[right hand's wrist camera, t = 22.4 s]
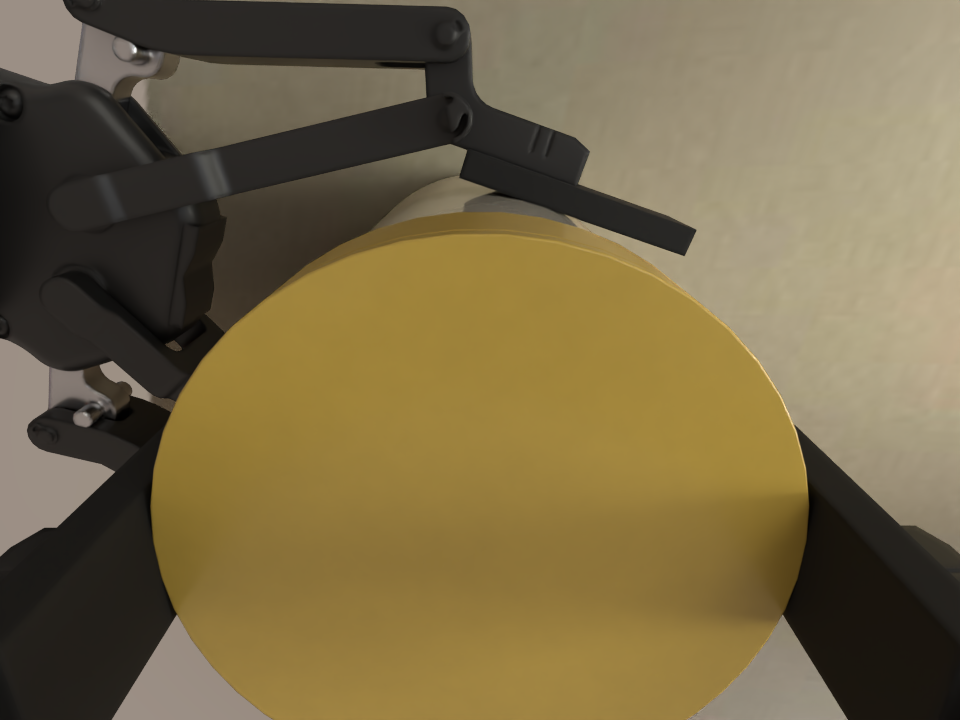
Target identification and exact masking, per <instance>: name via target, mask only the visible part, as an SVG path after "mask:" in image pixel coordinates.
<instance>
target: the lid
mask: <svg viewBox="0 0 960 720" xmlns="http://www.w3.org/2000/svg"><path fill="white" fill-rule="evenodd" d="M150 508H151V521H152V535H153V544H154V548H155V552H156V556H157V561H158V565H159V569H160V573H161V577H162V580H163V583H164V585H165V588H166V590H167V593H168V595H169V598H170V600H171V603H172V605H173V608H174V610H175V612H176V613H177V615H178V617H179V619H180V620H181V622H182V624H183V626H184V627H185V629H186V631H187V633H188V634H189V636H190V638H191V639H192V641H193V642H194V643H195V645H196V646H197V647H198V649H199V650H200V651H201V653H202V654H203V655H204V657H205V658H206V659H207V660H208V662H209V663H210V664H211V666H212V667H213V668H214V669H215V670H216V671H217V672H218V673H219V674H220V675H221V676H222V677H223V678H224V679H225V680H226V681H227V682H228V683H229V684H230V685H231V686H232V687H233V688H234V690H235V691H236V692H238V693H239V694H240V695H241V696H243V697H244V698H245V699H246V700H248V701H249V702H250V703H251V704H252V705H254V706H255V707H256V708H257V709H259V710H260V711H261V712H262V713H264V714H265V715H267V716H268V717H270V718H271V719H273V720H687V719H688V718H690V717H691V716H693V715H694V714H696V713H697V712H698V711H700V710H701V709H702V708H703V707H704V706H706V705H707V704H708V703H709V702H711V701H712V700H713V699H714V698H716V697H717V696H718V695H719V694H721V693H722V692H723V691H724V690H725V689H726V688H727V687H728V686H729V685H730V684H731V683H732V682H733V681H734V680H735V679H736V678H737V677H738V676H739V675H740V674H741V673H742V672H743V671H744V670H745V669H746V668H747V666H748V665H749V664H750V662H751V661H752V660H753V659H754V657H755V656H756V655H757V653H758V652H759V651H760V649H761V648H762V647H763V645H764V644H765V643H766V641H767V640H768V639H769V637H770V635H771V633H772V632H773V630H774V628H775V626H776V625H777V623H778V621H779V619H780V618H781V616H782V614H783V612H784V611H785V609H786V606H787V604H788V601H789V599H790V596H791V594H792V591H793V589H794V586H795V584H796V581H797V579H798V575H799V571H800V566H801V562H802V558H803V554H804V549H805V545H806V541H807V529H808V516H809V498H808V486H807V474H806V467H805V463H804V459H803V455H802V451H801V447H800V443H799V439H798V435H797V431H796V429H795V427H794V424H793V422H792V420H791V417H790V415H789V413H788V411H787V408H786V406H785V404H784V401H783V399H782V397H781V395H780V393H779V391H778V390H777V388H776V387H775V385H774V384H773V382H772V381H771V379H770V378H769V376H768V374H767V373H766V371H765V370H764V368H763V367H762V365H761V364H760V362H759V360H758V359H757V358H756V357H755V356H754V355H753V354H752V352H751V351H750V350H749V349H748V348H747V347H746V346H745V345H744V343H743V342H742V341H741V340H740V339H739V338H738V337H737V336H736V335H735V333H734V332H733V331H732V330H731V329H730V328H729V327H728V326H727V325H726V324H725V323H723V322H722V321H721V320H720V319H718V318H717V317H716V316H715V315H714V314H712V313H711V312H710V311H709V310H708V309H706V308H705V307H704V306H703V305H701V304H700V303H699V302H698V301H697V300H695V299H694V298H693V297H692V296H690V295H689V294H688V293H687V292H686V291H684V290H683V289H682V288H681V287H679V286H678V285H677V284H676V283H674V282H673V281H672V280H671V279H669V278H668V277H667V276H666V275H664V274H663V273H662V272H661V271H660V270H658V269H657V268H656V267H655V266H653V265H652V264H650V263H649V262H647V261H645V260H644V259H642V258H640V257H639V256H637V255H635V254H634V253H632V252H631V251H629V250H627V249H626V248H624V247H622V246H621V245H619V244H617V243H614V242H612V241H610V240H607V239H605V238H603V237H600V236H598V235H596V234H593V233H591V232H589V231H586V230H584V229H582V228H578V227H574V226H571V225H567V224H564V223H560V222H556V221H553V220H549V219H545V218H541V217H534V216H526V215H519V214H512V213H504V212H456V213H448V214H441V215H433V216H426V217H418V218H414V219H411V220H407V221H403V222H400V223H396V224H393V225H389V226H385V227H382V228H378V229H376V230H373V231H371V232H369V233H366V234H364V235H362V236H359V237H357V238H355V239H352V240H350V241H348V242H345V243H343V244H341V245H339V246H337V247H336V248H334V249H332V250H331V251H329V252H327V253H326V254H324V255H323V256H321V257H319V258H318V259H316V260H314V261H313V262H311V263H309V264H308V265H306V266H305V267H304V268H303V269H301V270H300V271H299V272H298V273H296V274H295V275H294V276H293V277H292V278H290V279H289V280H288V281H287V282H285V283H284V284H283V285H282V286H280V287H279V288H278V289H277V290H275V291H274V292H273V293H272V294H271V295H269V296H268V297H267V298H266V299H264V300H263V301H262V302H261V303H260V304H258V305H257V306H256V307H255V308H253V309H252V310H251V311H250V312H249V313H247V314H246V315H245V316H244V317H243V318H241V319H240V320H239V321H238V322H236V323H235V324H234V325H233V326H232V327H231V328H230V329H229V330H228V331H227V332H226V333H225V334H224V335H223V336H222V338H221V339H220V340H219V341H218V342H217V343H216V344H215V345H214V347H213V348H212V349H211V350H210V351H209V352H208V353H207V354H206V355H205V357H204V358H203V359H202V360H201V362H200V363H199V365H198V366H197V368H196V369H195V371H194V372H193V374H192V376H191V377H190V379H189V380H188V382H187V383H186V385H185V386H184V388H183V389H182V391H181V393H180V394H179V396H178V398H177V401H176V403H175V405H174V408H173V410H172V412H171V414H170V417H169V419H168V421H167V424H166V426H165V428H164V430H163V434H162V438H161V442H160V445H159V449H158V453H157V457H156V461H155V465H154V470H153V482H152V493H151V505H150Z"/></svg>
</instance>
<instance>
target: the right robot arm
mask: <svg viewBox="0 0 960 720" xmlns="http://www.w3.org/2000/svg"><path fill="white" fill-rule="evenodd" d="M166 424H167V423H166ZM166 424H165V425H164V426H163V427H162V428H161V429H160V430H159V431H158V432H157V433H156V434H155V435H154V436H153V437H152V438H151V439H150V440H149V441H148V442H146V443H145V444H144V445H143V446H142V447H141V448H140V449H139V450H138V451H137V452H136V453H135V454H134V455H133V456H132V457H131V458H130V459H129V460H128V461H127V462H125V463H124V464H123V465H122V466H121V467H120V468H119V469H118V470H117V471H116V472H115V473H114V474H113V475H112V476H111V477H110V478H109V479H108V480H107V481H106V482H104V483H103V484H102V485H101V486H100V487H99V488H98V489H97V490H96V491H95V492H94V493H93V494H92V495H91V496H90V497H89V498H88V499H87V500H86V501H85V502H83V503H82V504H81V505H80V506H79V507H78V508H77V509H76V510H75V511H74V512H73V513H72V514H71V515H70V516H69V517H68V518H67V519H66V520H65V521H63V522H62V523H61V524H60V525H59V526H58V527H57V528H43V529H42V530H40V531H38V532H37V533H35V534H33V535H31V536H30V537H28V538H26V539H24V540H23V541H21V542H19V543H18V544H16V545H14V546H12V547H11V548H9V549H8V550H7V551H6V552H5V553H4V554H3V555H2V556H1V557H0V720H112V718H113V717H114V715H115V713H116V712H117V710H118V708H119V707H120V705H121V704H122V702H123V700H124V699H125V697H126V696H127V694H128V692H129V691H130V689H131V687H132V686H133V684H134V683H135V681H136V679H137V678H138V676H139V675H140V673H141V671H142V670H143V668H144V666H145V665H146V663H147V662H148V660H149V658H150V657H151V655H152V654H153V652H154V650H155V649H156V647H157V646H158V644H159V642H160V641H161V639H162V637H163V636H164V634H165V633H166V631H167V629H168V628H169V626H170V625H171V623H172V621H173V620H174V618H175V616H176V615H177V613H176V612H175V610H174V608H173V605H172V603H171V600H170V598H169V595H168V593H167V590H166V588H165V585H164V583H163V580H162V577H161V573H160V569H159V565H158V561H157V556H156V552H155V548H154V544H153V535H152V521H151V508H150V505H151V493H152V482H153V470H154V465H155V461H156V457H157V453H158V449H159V445H160V442H161V438H162V434H163V430H164V428H165V426H166ZM794 427H795V429H796V431H797V435H798V439H799V443H800V447H801V451H802V455H803V459H804V463H805V467H806V474H807V486H808V498H809V516H808V529H807V541H806V545H805V549H804V554H803V558H802V562H801V566H800V571H799V575H798V579H797V581H796V584H795V586H794V589H793V591H792V594H791V596H790V599H789V601H788V604H787V606H786V609H785V611H784V612H783V615H784V617H785V619H786V620H787V622H788V624H789V625H790V627H791V628H792V630H793V632H794V633H795V635H796V636H797V638H798V640H799V641H800V643H801V645H802V646H803V648H804V649H805V651H806V653H807V654H808V656H809V657H810V659H811V661H812V662H813V664H814V666H815V667H816V669H817V670H818V672H819V674H820V675H821V677H822V678H823V680H824V682H825V683H826V685H827V687H828V688H829V690H830V691H831V693H832V695H833V696H834V698H835V699H836V701H837V703H838V704H839V706H840V708H841V709H842V711H843V712H844V714H845V716H846V717H847V719H848V720H960V554H959V553H958V552H957V551H955V550H954V549H953V548H952V547H951V546H950V545H948V544H946V543H945V542H943V541H941V540H940V539H938V538H936V537H934V536H933V535H931V534H929V533H927V532H926V531H924V530H922V529H920V528H919V527H917V526H900V525H899V524H898V523H897V522H896V521H895V520H894V519H893V518H892V517H891V516H890V515H889V514H888V513H887V512H886V511H885V510H883V509H882V508H881V507H880V506H879V505H878V504H877V503H876V502H875V501H874V500H873V499H872V498H871V497H870V496H869V495H868V494H867V493H866V492H865V491H864V490H862V489H861V488H860V487H859V486H858V485H857V484H856V483H855V482H854V481H853V480H852V479H851V478H850V477H849V476H848V475H847V474H846V473H845V472H844V471H842V470H841V469H840V468H839V467H838V466H837V465H836V464H835V463H834V462H833V461H832V460H831V459H830V458H829V457H828V456H827V455H826V454H825V453H824V452H823V451H821V450H820V449H819V448H818V447H817V446H816V445H815V444H814V443H813V442H812V441H811V440H810V439H809V438H808V437H807V436H806V435H805V434H804V433H803V432H802V431H800V430H799V429H798V428H797V427H796V426H795V425H794Z"/></svg>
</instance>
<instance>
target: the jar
mask: <svg viewBox="0 0 960 720" xmlns="http://www.w3.org/2000/svg"><path fill="white" fill-rule="evenodd" d="M459 176H460V175H457V176H453V177H449V178H445V179H441V180H438V181H436V182H433V183H431V184H429V185H426V186H424V187H422V188H421V189H419V190H417V191H415V192H414V193H412V194H410V195H409V196H408V197H406V198H405V199H404V200H402V201H401V202H400V203H399V204H397V205H396V206H395V207H394V208H393V209H392V210H391V211H390V212H389V213H388V214H387V215H386V216H385V217H384V218H383V219H382V220H381V221H380V222H378V223H377V224H376V225H375V226H374V227H373V228H372V229H371V230H370V231H369V232H371V231H373V230H376V229H378V228H382V227H385V226H389V225H393V224H396V223H400V222H403V221H407V220H411V219H414V218H418V217H426V216H433V215H441V214H448V213H456V212H504V213H512V214H519V215H526V216H534V217H541V218H545V219H549V220H553V221H556V222H560V223H564V224H567V225H571V226H574V227H578V228H582V229H584V230H586V231H589V232H591V231H590V230H589V229H588V228H587V227H586V226H585V225H583V224H582V223H581V222H580V221H579V220H578V219H576V218H573V217H570V216H567V215H564V214H562V213H559V212H556V211H553V210H550V209H547V208H545V207H542V206H538V205H536V204H533V203H530V202H527V201H524V200H521V199H518V198H515V197H512V196H510V195H507V194H504V193H501V192H498V191H495V190H492V189H489V188H486V187H484V186H481V185H478V184H475V183H472V182H469V181H466V180H463V179H460V178H459ZM369 232H368V233H369ZM591 233H592V232H591Z"/></svg>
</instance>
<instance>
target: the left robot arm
mask: <svg viewBox="0 0 960 720" xmlns="http://www.w3.org/2000/svg"><path fill="white" fill-rule="evenodd" d="M63 1H64V4H65V6H66V8H67V10H68V11H69V12H70V13H71V15H72V16H73V17H74V18H76V19H77V20H79V21H81V22H82V23H83V24H82V32H81V39H80V46H79V53H78V60H77V68H76V75H75V80H69V81H64V82H60V83H56V84H47V83H43V82H41V81H37V80H35V79H32V78H29V77H26V76H23V75H20V74H17V73H14V72H11V71H8V70H5V69H2V68H0V338H2V339H5V340H9V341H11V342H13V343H15V344H17V345H19V346H20V347H22V348H23V349H25V350H26V351H28V352H29V353H31V354H32V355H33V356H34V357H35V358H37V359H38V360H39V361H40V362H42V363H44V364H45V365H47V366H49V367H50V372H49V407H48V410H47V411H46V412H44V413H43V414H41V415H40V416H38V417H37V418H35V419H34V420H33V421H32V422H30V424H29V425H28V429H27V433H28V437H29V439H30V440H31V442H32V443H33V444H34V445H35V446H37V447H38V448H39V449H42V450H45V451H47V452H51V453H56V454H60V455H64V456H69V457H73V458H78V459H82V460H86V461H90V462H95V463H99V464H102V465H104V466H106V467H108V468H110V469H112V470H113V471H115V472H116V471H117V470H118V469H119V468H120V467H121V466H122V465H123V464H124V463H125V462H127V461H128V460H129V459H130V458H131V457H132V456H133V455H134V454H135V453H136V452H137V451H138V450H139V449H140V448H141V447H142V446H143V445H144V444H145V443H146V442H148V441H149V440H150V439H151V438H152V437H153V436H154V435H155V434H156V433H157V432H158V431H159V430H160V429H161V428H162V427H163V426H164V425H165V424H166V423H167V421H168V419H169V417H170V414H171V412H169V411H168V410H166V409H164V408H162V407H160V406H158V405H156V404H153V403H151V402H148V401H146V400H143V399H140V398H137V397H133V396H130V395H131V394H132V388H131V386H130V385H129V384H128V383H126V382H117V383H115V382H113V381H111V380H109V379H108V378H107V377H106V376H105V375H104V374H103V373H102V371H101V369H100V365H101V364H104V363H107V362H110V361H114V362H115V363H116V364H117V365H118V366H119V367H120V368H122V369H123V370H124V371H125V372H126V373H127V374H129V375H130V376H131V377H132V378H133V379H134V380H135V381H137V382H138V383H139V384H140V385H141V386H142V387H144V388H145V389H146V390H147V391H148V392H149V393H151V394H152V395H154V396H156V397H159V398H169V399H172V400H174V401H177V398H178V396H179V394H180V393H181V391H182V389H183V388H184V386H185V385H186V383H187V382H188V380H189V379H190V377H191V376H192V374H193V372H194V371H195V369H196V368H197V366H198V365H199V363H200V362H201V360H202V359H203V358H204V357H205V355H206V354H207V353H208V352H209V351H210V350H211V349H212V348H213V347H214V345H215V344H216V343H217V342H218V341H219V340H220V339H221V338H222V336H223V335H224V334H225V333H224V332H223V331H222V330H221V329H220V328H219V327H218V326H217V325H216V324H215V323H214V322H213V321H212V320H211V319H210V318H209V317H208V316H206V315H205V314H204V313H206V312H207V311H209V310H210V308H211V302H212V297H213V291H214V282H213V272H212V261H213V259H214V257H215V255H216V253H217V251H218V249H219V247H220V245H221V243H222V241H223V236H224V231H225V225H226V220H227V217H224V216H221V215H220V211H219V206H218V203H217V200H216V199H218V198H222V197H226V196H230V195H234V194H238V193H242V192H247V191H251V190H255V189H259V188H264V187H268V186H272V185H277V184H281V183H285V182H289V181H294V180H298V179H302V178H306V177H311V176H315V175H319V174H323V173H328V172H332V171H336V170H341V169H345V168H349V167H353V166H358V165H362V164H366V163H370V162H375V161H379V160H383V159H388V158H392V157H396V156H400V155H405V154H409V153H413V152H417V151H422V150H426V149H430V148H434V147H439V146H443V145H447V144H452V145H455V146H458V147H461V148H464V149H466V150H467V154H466V157H465V160H464V163H463V166H462V170H461V173H460V176H459V178H460V179H463V180H466V181H469V182H472V183H475V184H478V185H481V186H484V187H486V188H489V189H492V190H495V191H498V192H501V193H504V194H507V195H510V196H512V197H515V198H518V199H521V200H524V201H527V202H530V203H533V204H536V205H538V206H542V207H545V208H547V209H550V210H553V211H556V212H559V213H562V214H564V215H567V216H570V217H573V218H576V219H579V220H582V221H585V222H587V223H590V224H593V225H596V226H599V227H602V228H605V229H608V230H611V231H613V232H616V233H619V234H622V235H625V236H628V237H631V238H634V239H637V240H639V241H642V242H645V243H648V244H651V245H654V246H657V247H660V248H663V249H665V250H668V251H671V252H674V253H677V254H680V255H683V256H685V254H686V252H687V250H688V248H689V245H690V243H691V241H692V239H693V237H694V234H695V232H696V229H694V228H692V227H689V226H687V225H685V224H683V223H681V222H679V221H677V220H675V219H673V218H671V217H669V216H666V215H663V214H661V213H658V212H655V211H652V210H649V209H646V208H644V207H641V206H638V205H635V204H632V203H629V202H627V201H624V200H621V199H618V198H615V197H612V196H610V195H607V194H604V193H601V192H598V191H596V190H593V189H590V188H587V187H584V186H581V185H579V184H578V182H579V179H580V177H581V174H582V171H583V169H584V166H585V163H586V161H587V158H588V155H589V153H590V151H589V150H588V149H587V148H586V147H585V146H583V145H582V144H581V143H580V142H579V141H578V140H577V139H576V138H574V137H572V136H569V135H566V134H563V133H561V132H558V131H555V130H552V129H550V128H547V127H544V126H541V125H539V124H536V123H533V122H530V121H528V120H525V119H522V118H519V117H517V116H514V115H511V114H508V113H506V112H503V111H500V110H497V109H494V108H492V107H490V106H488V105H486V104H485V103H484V102H483V101H482V100H481V99H480V98H479V96H478V95H477V93H476V91H475V88H474V86H473V74H472V42H471V34H470V28H469V24H468V22H467V20H466V19H465V17H464V15H463V14H461V13H460V12H459V11H458V10H456V9H453V8H449V7H439V6H402V5H365V4H328V3H291V2H253V1H216V0H63ZM180 56H181V57H186V58H190V59H195V60H200V61H204V62H209V63H218V64H236V65H275V66H313V67H352V68H390V69H425V76H426V95H427V98H423V99H419V100H415V101H410V102H406V103H402V104H398V105H394V106H390V107H386V108H381V109H377V110H373V111H369V112H365V113H361V114H357V115H352V116H348V117H344V118H340V119H336V120H332V121H327V122H323V123H319V124H315V125H311V126H307V127H303V128H298V129H294V130H290V131H286V132H282V133H278V134H274V135H269V136H265V137H261V138H257V139H253V140H249V141H244V142H240V143H236V144H232V145H228V146H224V147H220V148H215V149H210V150H205V151H199V152H194V153H190V154H186V155H182V154H181V153H180V152H179V151H178V149H177V148H176V147H175V146H174V145H173V144H172V142H171V141H170V140H169V139H168V138H167V136H166V135H165V134H164V133H163V132H162V131H161V129H160V128H159V127H158V126H157V125H156V123H155V122H154V121H153V120H152V119H151V118H150V116H149V115H148V114H147V113H146V112H145V110H144V109H143V108H142V107H141V106H140V105H139V103H138V102H137V101H136V100H135V99H134V98H133V97H132V96H131V93H132V90H133V87H134V86H135V85H136V84H137V83H138V82H139V81H141V80H143V79H148V78H150V79H159V80H163V79H167V78H169V77H171V76H172V75H173V74H174V73H175V71H176V70H177V67H178V64H179V58H180ZM173 340H175V341H176V342H177V343H178V344H179V345H180V346H181V347H182V350H181V351H174V350H171V349H170V348H168V347H167V346H166V345H165V344H167V343H169V342H171V341H173Z"/></svg>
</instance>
